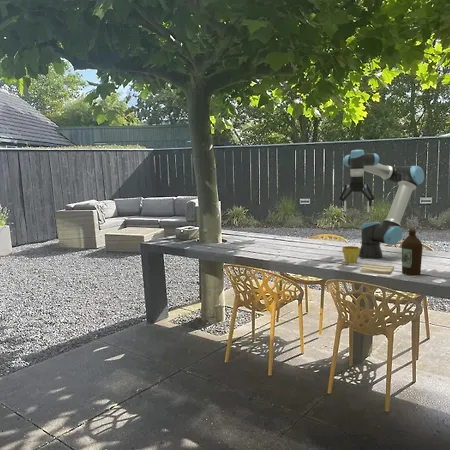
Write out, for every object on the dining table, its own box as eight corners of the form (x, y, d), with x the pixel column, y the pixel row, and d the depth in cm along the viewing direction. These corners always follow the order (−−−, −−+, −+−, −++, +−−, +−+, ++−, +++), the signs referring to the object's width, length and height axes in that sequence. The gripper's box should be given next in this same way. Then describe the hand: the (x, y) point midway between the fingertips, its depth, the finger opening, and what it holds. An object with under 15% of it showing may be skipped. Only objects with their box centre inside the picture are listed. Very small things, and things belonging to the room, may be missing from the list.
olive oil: (410, 270, 243) (411, 227, 240) (426, 274, 233) (427, 229, 230) (396, 273, 239) (397, 228, 236) (411, 276, 229) (413, 230, 226)
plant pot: (349, 265, 262) (349, 249, 260) (338, 262, 271) (338, 246, 270) (363, 263, 266) (363, 247, 264) (352, 260, 275) (352, 245, 274)
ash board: (365, 266, 257) (365, 264, 256) (393, 268, 249) (393, 266, 249) (360, 272, 243) (360, 269, 242) (390, 274, 235) (390, 271, 235)
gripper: (334, 176, 257) (334, 211, 260) (378, 175, 246) (377, 212, 248) (337, 176, 264) (337, 210, 266) (379, 175, 252) (379, 211, 255)
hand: (356, 211), depth 257 cm, fingers open, 13 cm apart
